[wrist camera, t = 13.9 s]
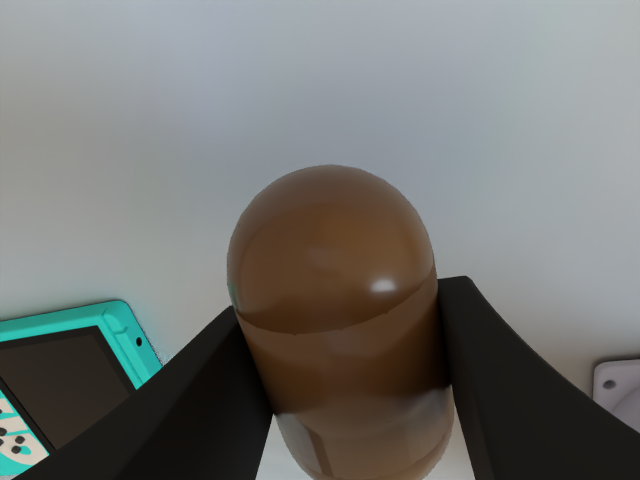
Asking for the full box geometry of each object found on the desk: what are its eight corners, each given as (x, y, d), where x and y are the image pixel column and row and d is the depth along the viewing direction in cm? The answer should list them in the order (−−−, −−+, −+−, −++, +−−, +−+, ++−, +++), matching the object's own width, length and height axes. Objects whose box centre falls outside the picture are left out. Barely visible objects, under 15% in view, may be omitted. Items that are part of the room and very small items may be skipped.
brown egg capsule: (452, 391, 13) (476, 539, 10) (312, 402, 14) (288, 542, 10) (412, 121, 10) (428, 198, 6) (232, 157, 11) (157, 242, 7)
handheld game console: (-130, 341, 26) (-155, 358, 25) (124, 293, 22) (109, 311, 21) (-23, 463, 30) (-39, 483, 29) (205, 440, 26) (196, 461, 25)
